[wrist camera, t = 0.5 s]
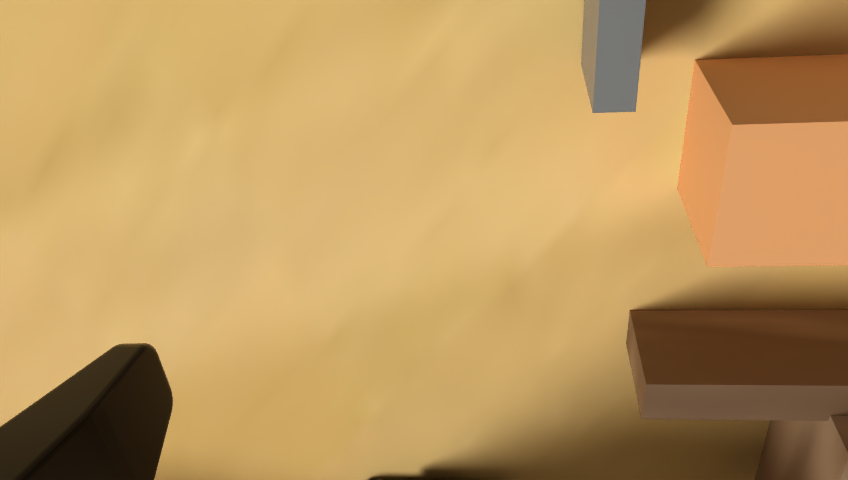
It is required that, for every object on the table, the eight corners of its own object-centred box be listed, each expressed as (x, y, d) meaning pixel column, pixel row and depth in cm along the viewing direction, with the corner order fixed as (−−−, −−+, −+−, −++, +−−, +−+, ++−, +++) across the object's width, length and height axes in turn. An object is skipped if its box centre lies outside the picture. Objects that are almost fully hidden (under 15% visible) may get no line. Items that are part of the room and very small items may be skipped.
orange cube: (817, 183, 22) (872, 264, 19) (676, 186, 23) (707, 266, 19) (850, 52, 20) (920, 119, 17) (694, 58, 20) (732, 124, 17)
